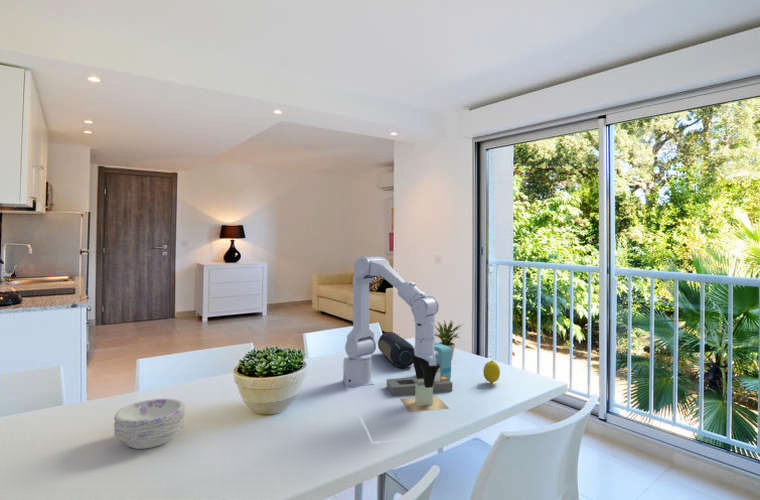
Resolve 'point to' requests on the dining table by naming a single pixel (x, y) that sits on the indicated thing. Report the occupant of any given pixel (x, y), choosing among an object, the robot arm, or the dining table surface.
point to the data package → (443, 359)
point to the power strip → (408, 385)
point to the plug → (423, 393)
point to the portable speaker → (396, 349)
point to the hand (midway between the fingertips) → (424, 382)
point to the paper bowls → (149, 422)
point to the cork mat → (414, 407)
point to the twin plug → (437, 376)
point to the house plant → (447, 335)
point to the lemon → (491, 371)
